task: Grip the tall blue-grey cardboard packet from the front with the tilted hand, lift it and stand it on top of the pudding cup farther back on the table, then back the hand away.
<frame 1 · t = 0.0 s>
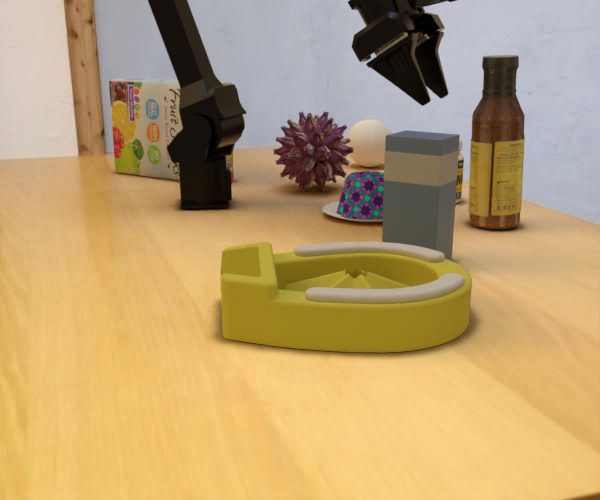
hand: (436, 100, 92), 15 cm above the table, tool tilted 35°, fingers open, 9 cm apart
yellow curved tray: (345, 317, 68), on the table
supplement bottle: (443, 202, 110), on the table
snack box: (173, 178, 128), on the table
sauce bottle: (491, 226, 97), on the table
flower: (313, 190, 118), on the table
pudding: (368, 216, 102), on the table
ball: (369, 168, 136), on the table
packet: (416, 261, 83), on the table
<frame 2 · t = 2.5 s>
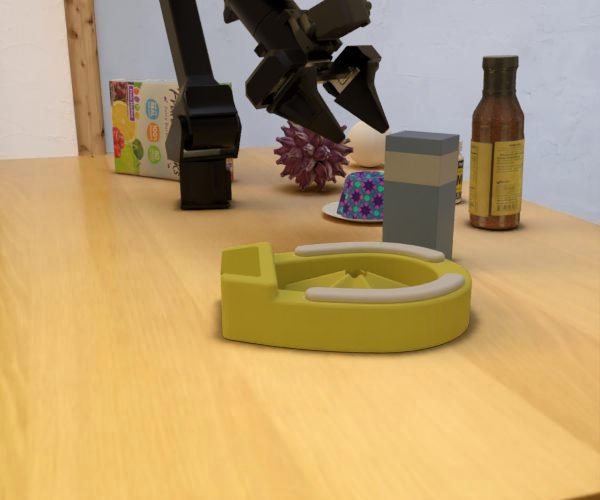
hand: (365, 135, 82), 12 cm above the table, tool tilted 45°, fingers open, 9 cm apart
nothing on the table moved.
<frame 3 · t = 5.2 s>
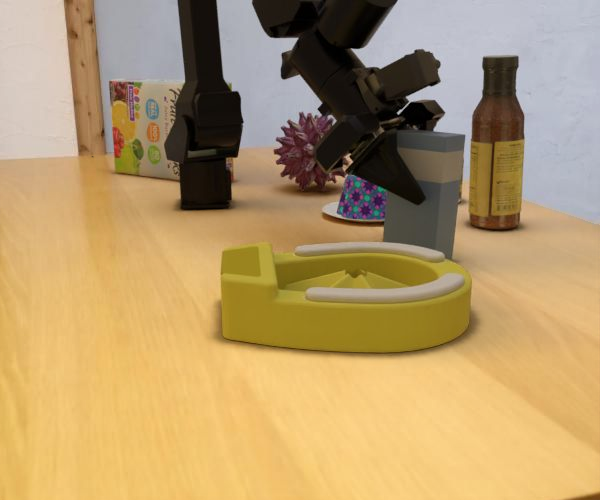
hand: (434, 197, 80), 7 cm above the table, tool tilted 45°, fingers closed on packet, 5 cm apart
packet: (416, 259, 83), on the table, touching gripper
everything else where it was.
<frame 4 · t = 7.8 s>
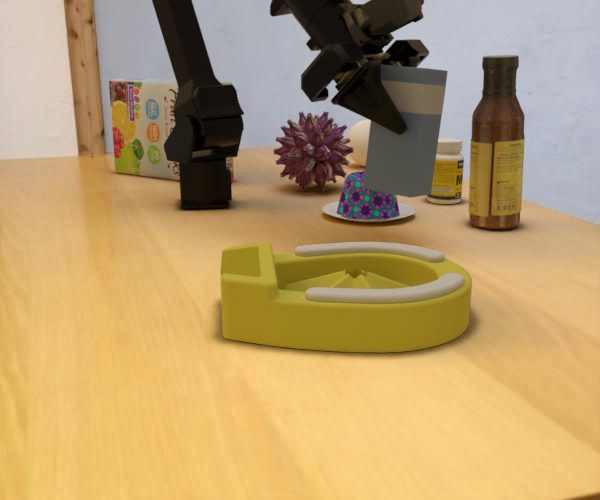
hand: (415, 129, 83), 13 cm above the table, tool tilted 45°, fingers closed on packet, 5 cm apart
packet: (396, 191, 86), point 6 cm above the table, tilted 6°, touching gripper
everything else where it was.
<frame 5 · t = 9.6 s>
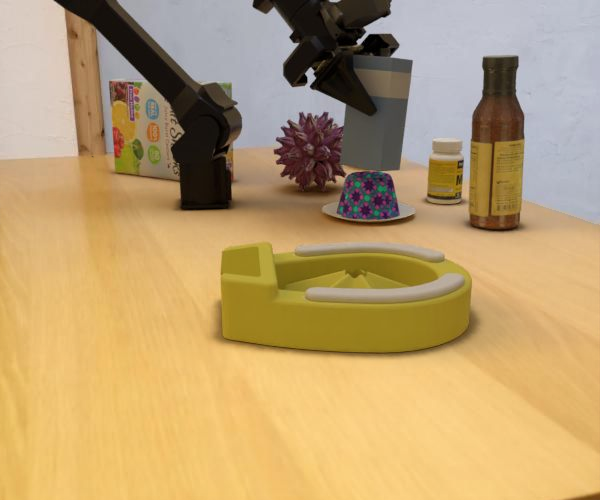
hand: (385, 111, 95), 13 cm above the table, tool tilted 45°, fingers closed on packet, 5 cm apart
packet: (369, 167, 97), point 7 cm above the table, tilted 6°, touching gripper
everything else where it was.
when the fingers open (12 cm above the table, at t = 10.8 s): packet stays where it is, resting on pudding.
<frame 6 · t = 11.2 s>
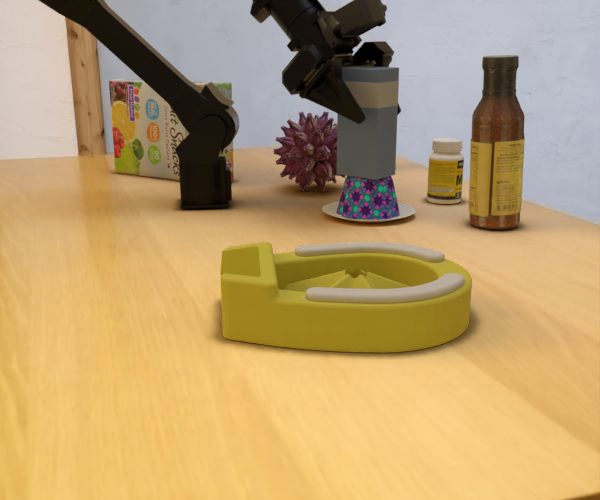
hand: (381, 117, 97), 12 cm above the table, tool tilted 45°, fingers open, 9 cm apart
pudding: (368, 216, 102), on the table, touching packet
packet: (365, 174, 100), point 5 cm above the table, touching pudding
everything else where it was.
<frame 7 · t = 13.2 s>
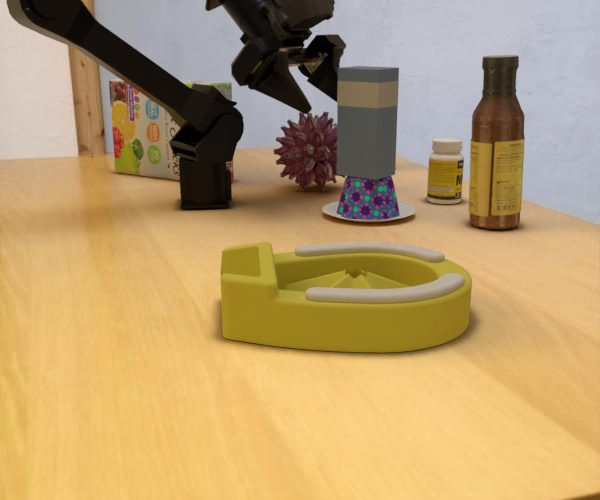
hand: (329, 108, 101), 13 cm above the table, tool tilted 45°, fingers open, 9 cm apart
nothing on the table moved.
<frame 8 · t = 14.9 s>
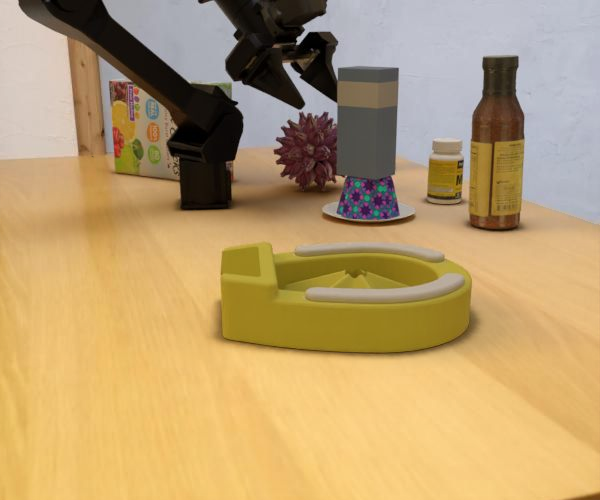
hand: (322, 104, 101), 14 cm above the table, tool tilted 45°, fingers open, 9 cm apart
nothing on the table moved.
at the end: packet inside the target area on the pudding (0.5 cm from its centre), point 5.5 cm above the pudding's base; packet tilted 0°; the gripper is holding nothing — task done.
